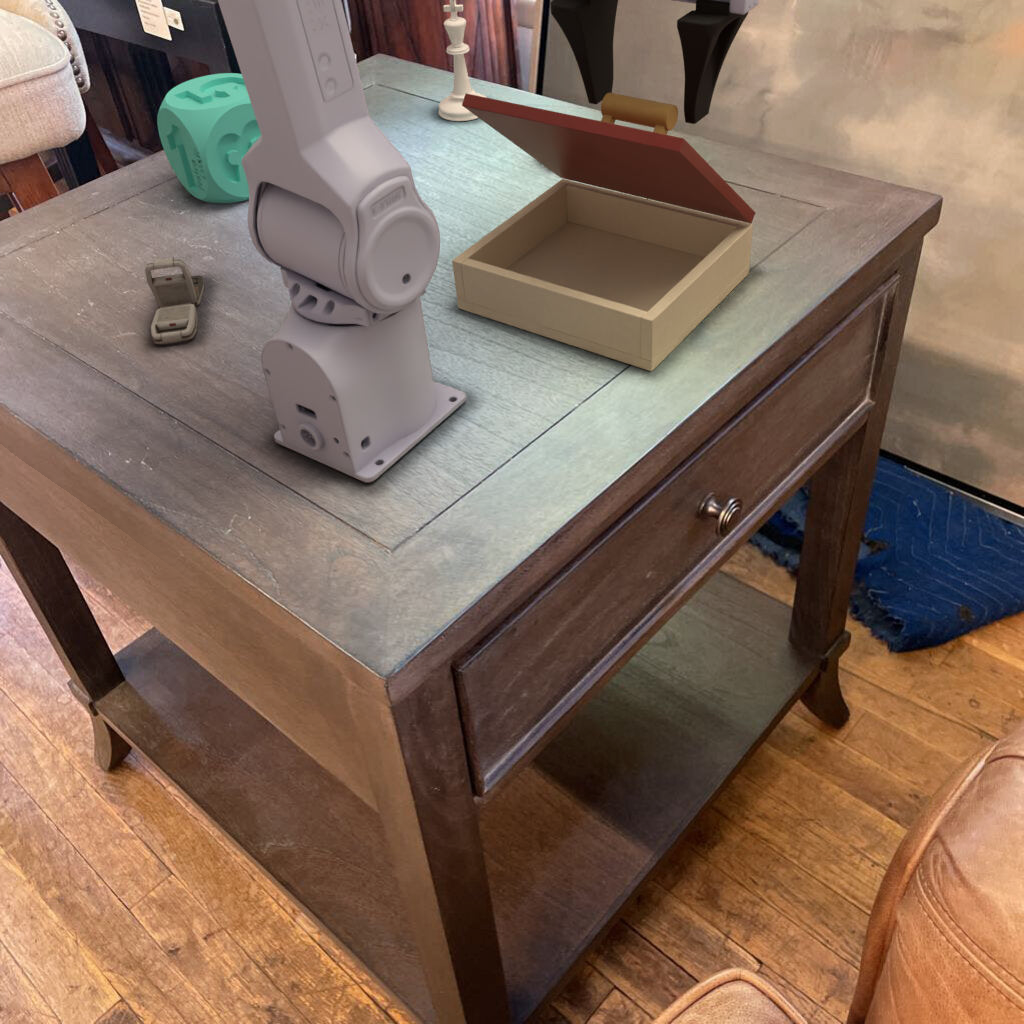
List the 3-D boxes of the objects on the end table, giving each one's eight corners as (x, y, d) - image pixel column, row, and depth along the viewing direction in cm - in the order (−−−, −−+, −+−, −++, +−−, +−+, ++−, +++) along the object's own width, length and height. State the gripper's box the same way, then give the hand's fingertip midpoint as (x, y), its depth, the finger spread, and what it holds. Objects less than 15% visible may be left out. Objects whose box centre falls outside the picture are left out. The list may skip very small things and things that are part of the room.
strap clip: (195, 342, 75) (178, 289, 72) (152, 348, 75) (133, 295, 72) (206, 280, 81) (190, 229, 78) (166, 285, 81) (149, 234, 78)
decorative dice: (173, 185, 94) (145, 94, 88) (252, 154, 97) (229, 64, 92) (218, 213, 89) (191, 119, 84) (299, 180, 93) (278, 87, 87)
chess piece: (484, 121, 99) (473, 7, 92) (432, 121, 100) (417, 8, 93) (495, 100, 102) (485, -12, 95) (445, 99, 103) (432, -11, 96)
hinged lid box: (651, 372, 68) (652, 320, 65) (457, 308, 75) (451, 260, 73) (749, 273, 76) (753, 224, 73) (564, 224, 83) (562, 178, 80)
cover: (679, 152, 60) (709, 66, 60) (461, 105, 68) (486, 28, 67) (751, 224, 73) (777, 153, 72) (560, 177, 80) (582, 113, 80)
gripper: (790, -125, 63) (771, 104, 72) (583, -140, 70) (589, 70, 79) (734, -93, 59) (721, 145, 68) (520, -112, 66) (535, 106, 75)
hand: (647, 108), depth 73 cm, fingers open, 7 cm apart
